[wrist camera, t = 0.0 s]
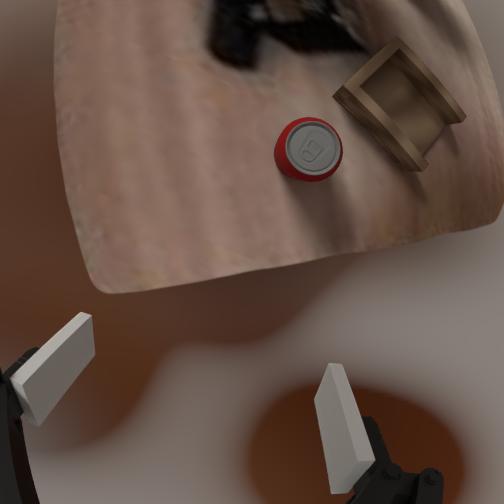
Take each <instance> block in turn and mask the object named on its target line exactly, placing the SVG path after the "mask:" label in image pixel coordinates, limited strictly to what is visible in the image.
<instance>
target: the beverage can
mask: <svg viewBox="0 0 504 504" xmlns="http://www.w3.org/2000/svg"><path fill="white" fill-rule="evenodd" d="M342 155H343V147H342V142H341V139H340V137H339V135H338V133H337V132H336V130H335V129H334V128H333V127H332V126H331V125H329V124H328V123H327V122H325V121H323V120H321V119H318V118H312V117H305V118H300V119H297V120H295V121H293V122H291V123H290V124H289V125H287V126H286V127H285V129H284V130H283V131H282V133H281V135H280V136H279V138H278V140H277V143H276V145H275V149H274V158H275V162H276V164H277V166H278V168H279V169H280V170H281V171H282V172H283V173H284V174H285V175H287V176H289V177H291V178H294V179H297V180H302V181H308V182H316V181H321V180H323V179H326V178H328V177H329V176H331V175H332V174H333V173H334V172H335V171H336V170H337V168H338V167H339V165H340V163H341V160H342Z"/></svg>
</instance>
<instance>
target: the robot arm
mask: <svg viewBox="0 0 504 504" xmlns="http://www.w3.org/2000/svg"><path fill="white" fill-rule="evenodd" d="M94 355H95V348H94V339H93V328H92V316H91V315H89V314H86V313H82V312H80V313H79V314H78V315H77V316H75V317H74V319H72V320H71V321H70V322H69V323H68V324H66V326H64V327H63V328H62V329H61V330H60V331H59V332H58V333H57V334H55V335H54V336H53V337H52V338H51V339H50V340H49V341H48V342H47V343H46V344H45V345H43V346H42V347H41V348H40V349H39V348H37V347H35V348H32V349H30V350H28V351H27V352H26V353H24V355H22V357H21V358H19V359H18V360H17V362H15V363H14V364H13V365H12V366H11V367H10V368H8V369H7V371H5V372H4V373H3V374H2V371H1V368H0V504H40V502H39V499H38V496H37V492H36V489H35V485H34V481H33V478H32V474H31V469H30V465H29V461H28V456H27V451H26V446H25V440H24V433H23V426H22V421H21V418H20V416H21V415H22V414H23V412H24V415H25V417H26V419H27V421H29V422H31V423H32V424H34V425H36V426H38V427H40V425H41V424H42V422H43V421H44V420H45V418H46V417H47V416H48V414H49V413H50V411H51V410H52V409H53V408H54V406H55V405H56V404H57V402H58V401H59V400H60V398H61V397H62V396H63V395H64V393H65V392H66V391H67V389H68V388H69V387H70V385H71V384H72V383H73V382H74V380H75V379H76V378H77V377H78V375H79V374H80V373H81V371H82V370H83V369H84V368H85V366H86V365H87V364H88V363H89V362H90V360H91V359H92V358H93V357H94ZM314 401H315V406H316V411H317V417H318V422H319V427H320V432H321V438H322V443H323V448H324V454H325V459H326V466H327V471H328V477H329V483H330V489H331V494H338V493H348V492H349V491H350V489H351V488H352V487H353V489H354V493H355V494H354V495H353V496H352V497H351V498H350V499H349V500H348V501H347V502H346V504H442V501H443V486H444V479H443V475H442V474H441V472H439V471H438V470H436V469H434V468H426V469H424V470H423V471H422V472H421V473H420V474H414V473H406V472H403V470H402V469H401V467H400V466H398V465H397V464H394V463H392V462H391V459H390V457H389V454H388V451H387V449H386V446H385V443H384V440H382V435H381V433H380V430H379V428H378V425H377V423H376V422H375V421H374V420H373V419H372V417H361V415H360V413H359V410H358V407H357V404H356V401H355V398H354V396H353V393H352V390H351V387H350V384H349V382H348V379H347V376H346V374H345V371H344V368H343V365H342V364H335V363H329V364H328V366H327V369H326V372H325V374H324V377H323V379H322V382H321V384H320V387H319V389H318V391H317V394H316V396H315V398H314Z"/></svg>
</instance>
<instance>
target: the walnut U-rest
mask: <svg viewBox="0 0 504 504" xmlns="http://www.w3.org/2000/svg"><path fill="white" fill-rule="evenodd" d="M333 97H334V98H335V99H336V100H337V101H338V102H340V103H341V104H342V105H343V106H344V107H345V108H346V109H347V110H348V111H349V112H350V113H351V114H352V115H353V116H354V117H355V118H356V119H357V120H358V121H359V122H360V123H361V124H362V125H363V126H364V127H365V128H366V129H367V130H368V131H369V132H370V133H371V135H372V136H373V137H374V138H375V139H376V140H377V141H378V142H379V143H380V144H381V145H382V146H383V148H384V149H385V150H386V151H387V152H388V153H389V154H390V155H391V157H392V158H393V159H394V160H395V161H396V162H397V164H398V165H399V166H400V167H401V168H402V170H403V171H404V172H408V171H418V172H423V171H424V170H425V168H426V167H427V166H428V165H429V164H428V163H427V161H426V160H425V159H424V157H423V156H422V154H423V153H424V152H425V150H426V149H427V148H428V147H429V146H430V144H431V143H432V142H433V141H434V140H435V138H436V137H437V136H438V135H439V134H440V132H441V131H442V130H443V129H444V127H445V126H446V125H449V124H455V123H461V122H463V121H464V119H465V118H466V117H467V116H466V115H465V113H464V112H463V110H462V109H461V108H460V106H459V105H458V104H457V102H456V101H455V100H454V98H453V97H452V96H451V95H450V93H449V92H448V91H447V90H446V88H445V87H444V86H443V85H442V83H441V82H440V81H439V80H438V79H437V77H436V76H435V75H434V74H433V73H432V72H431V71H430V69H429V68H428V67H427V66H426V65H425V64H424V63H423V62H422V61H421V60H420V58H419V57H418V56H417V55H416V54H415V53H414V52H413V51H412V50H411V49H410V48H409V47H408V46H407V45H406V44H405V43H404V42H403V41H402V40H401V39H400V38H399V37H398V36H395V37H394V38H393V39H392V40H391V41H390V42H389V43H388V44H387V45H385V46H384V47H383V48H382V49H381V50H380V51H379V52H378V53H377V54H376V55H374V56H373V57H372V58H371V59H370V60H369V61H368V62H367V63H366V64H365V65H364V66H363V67H362V68H361V69H359V70H358V71H357V72H356V73H355V74H354V75H353V76H352V77H351V78H350V79H349V80H348V81H347V82H346V83H345V84H344V85H343V86H342V87H341V88H340V89H339V90H338V91H337V92H336V93H335V94H334V95H333Z"/></svg>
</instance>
